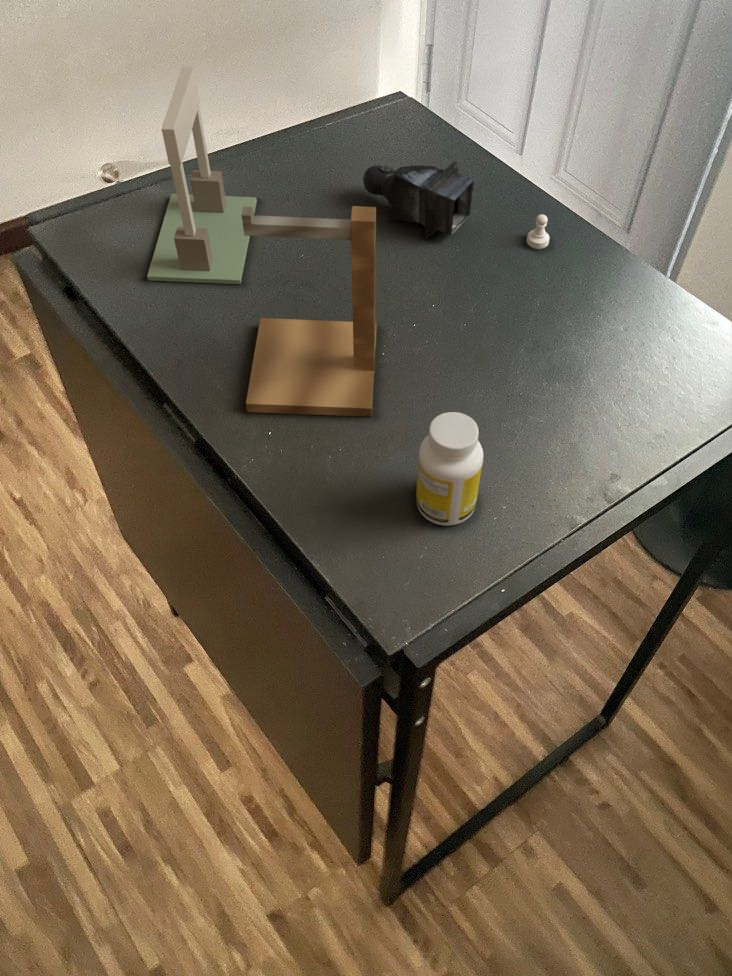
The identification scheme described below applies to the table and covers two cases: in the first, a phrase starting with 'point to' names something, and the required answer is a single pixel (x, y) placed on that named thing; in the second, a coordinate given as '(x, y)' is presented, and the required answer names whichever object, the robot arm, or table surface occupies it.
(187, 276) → the mat
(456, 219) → the dark knob-ended part
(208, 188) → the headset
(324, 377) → the stand
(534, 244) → the chess pawn
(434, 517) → the supplement bottle
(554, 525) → the table surface
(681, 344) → the table surface
